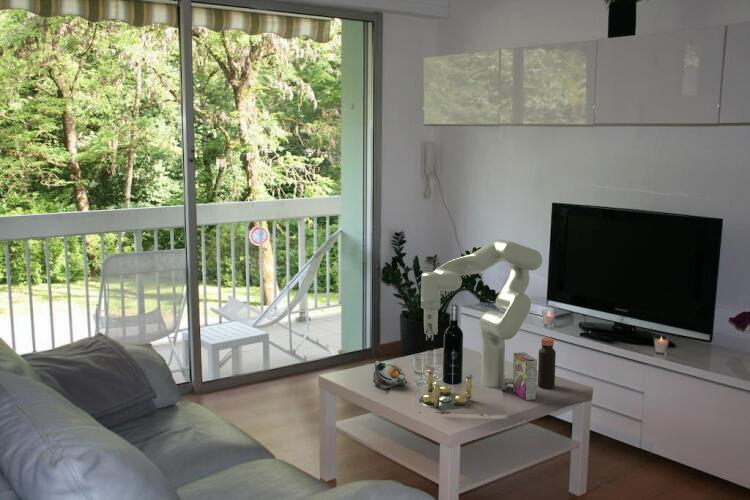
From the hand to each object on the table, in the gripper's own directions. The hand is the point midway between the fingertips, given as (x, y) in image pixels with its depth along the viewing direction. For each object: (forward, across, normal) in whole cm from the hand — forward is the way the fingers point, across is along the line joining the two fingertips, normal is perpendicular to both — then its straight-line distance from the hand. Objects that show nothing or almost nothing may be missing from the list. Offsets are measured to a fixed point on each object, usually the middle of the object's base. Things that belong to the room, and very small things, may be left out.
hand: (429, 347), depth 305 cm
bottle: (+20, +19, -47) cm, 55 cm away
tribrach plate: (+21, -7, -6) cm, 23 cm away
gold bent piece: (+19, -8, -14) cm, 25 cm away
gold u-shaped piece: (+19, 0, -4) cm, 19 cm away
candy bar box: (+20, +6, -37) cm, 43 cm away
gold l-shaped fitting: (+19, -13, -2) cm, 23 cm away
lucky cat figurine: (+21, +13, +16) cm, 30 cm away
